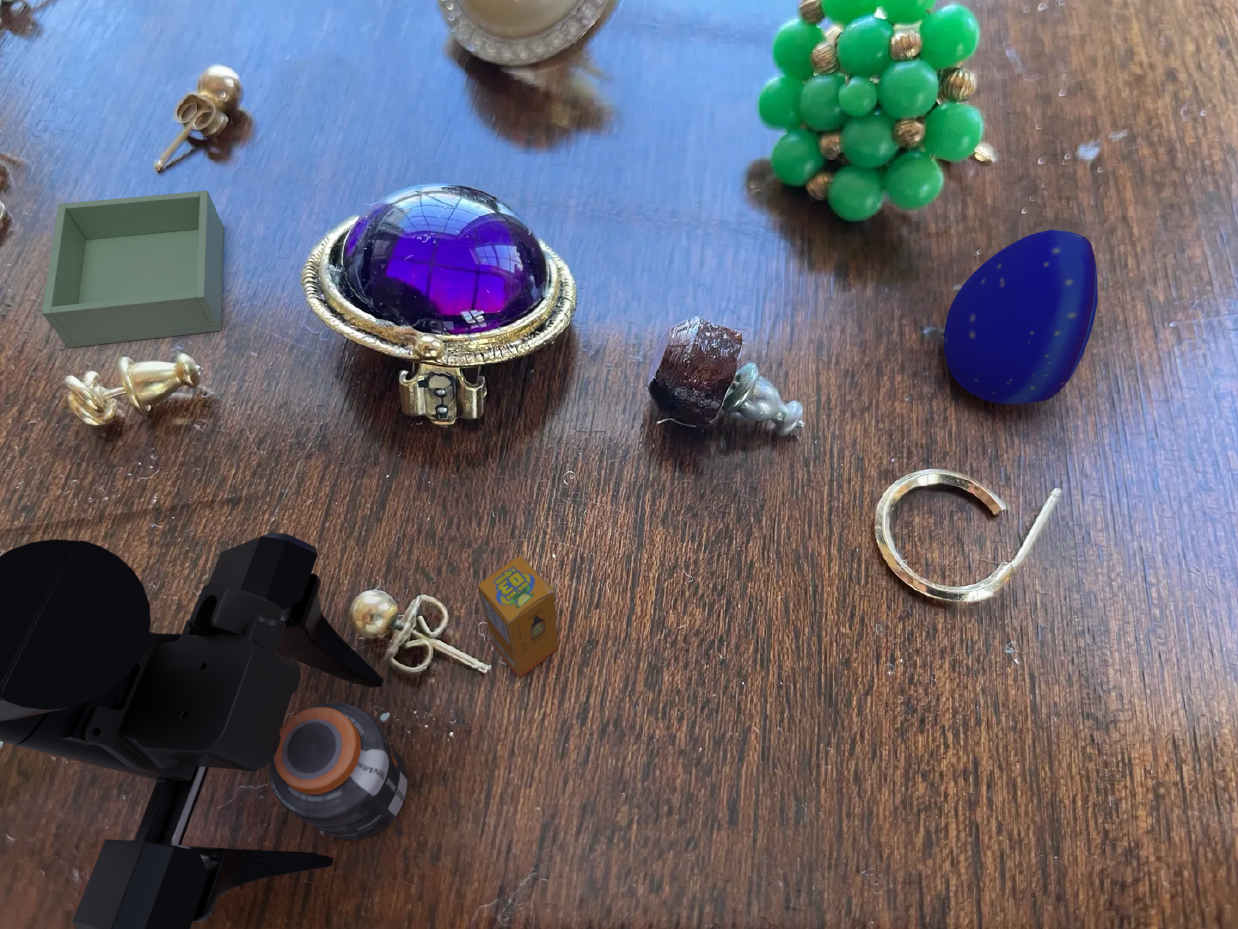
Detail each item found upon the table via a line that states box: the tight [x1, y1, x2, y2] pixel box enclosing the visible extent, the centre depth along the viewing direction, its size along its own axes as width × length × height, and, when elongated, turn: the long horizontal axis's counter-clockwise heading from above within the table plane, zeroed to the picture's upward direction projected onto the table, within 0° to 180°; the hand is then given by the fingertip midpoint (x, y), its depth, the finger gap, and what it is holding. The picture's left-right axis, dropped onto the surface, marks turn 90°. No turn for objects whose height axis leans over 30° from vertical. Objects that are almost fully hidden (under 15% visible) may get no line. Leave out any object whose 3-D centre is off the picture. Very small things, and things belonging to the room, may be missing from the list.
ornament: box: [943, 229, 1099, 405], centre depth 65 cm, size 11×9×15 cm
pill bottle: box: [268, 702, 408, 841], centre depth 48 cm, size 6×6×11 cm
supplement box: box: [477, 555, 559, 678], centre depth 53 cm, size 3×3×10 cm
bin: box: [41, 190, 225, 349], centre depth 69 cm, size 11×11×4 cm
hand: (355, 768), depth 47 cm, fingers open, 9 cm apart
